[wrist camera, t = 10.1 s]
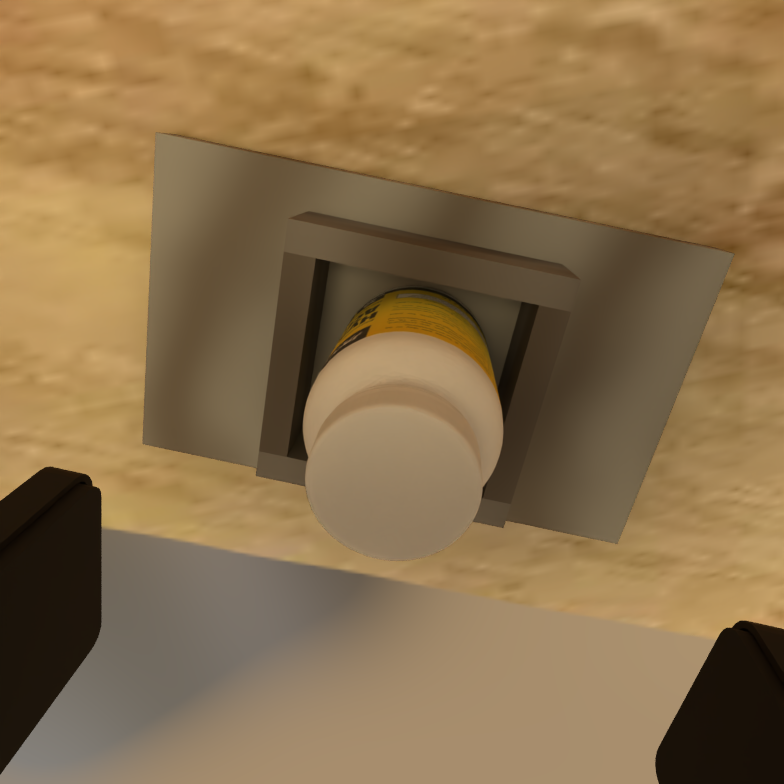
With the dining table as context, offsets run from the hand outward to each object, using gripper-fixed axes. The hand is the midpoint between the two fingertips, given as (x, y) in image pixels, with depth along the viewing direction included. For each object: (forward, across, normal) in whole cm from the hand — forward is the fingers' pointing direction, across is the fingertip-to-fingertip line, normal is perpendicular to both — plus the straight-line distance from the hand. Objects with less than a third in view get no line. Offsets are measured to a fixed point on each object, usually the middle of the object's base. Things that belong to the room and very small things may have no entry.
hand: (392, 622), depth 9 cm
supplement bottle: (+14, 0, +1) cm, 14 cm away
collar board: (+16, +1, +1) cm, 16 cm away
